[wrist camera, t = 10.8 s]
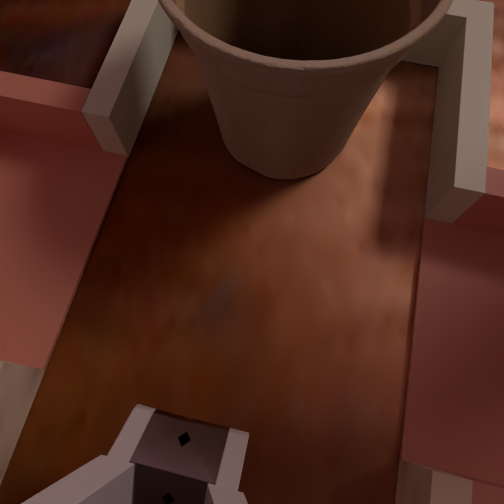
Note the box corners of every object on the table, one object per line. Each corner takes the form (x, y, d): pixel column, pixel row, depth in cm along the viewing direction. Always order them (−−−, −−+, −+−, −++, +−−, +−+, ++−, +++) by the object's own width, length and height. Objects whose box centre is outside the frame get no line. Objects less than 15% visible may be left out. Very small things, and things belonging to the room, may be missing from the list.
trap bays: (631, 555, 14) (724, 591, 12) (-159, 351, 17) (-242, 340, 14) (609, 234, 19) (673, 203, 16) (-21, 105, 21) (-63, 58, 18)
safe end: (450, 224, 19) (486, 193, 16) (104, 153, 20) (80, 111, 17) (463, 53, 22) (494, 3, 19) (167, 1, 23) (156, -54, 21)
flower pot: (149, 111, 21) (86, -76, 13) (294, 25, 23) (319, -183, 15) (266, 251, 18) (280, 128, 10) (417, 140, 20) (529, -35, 12)
